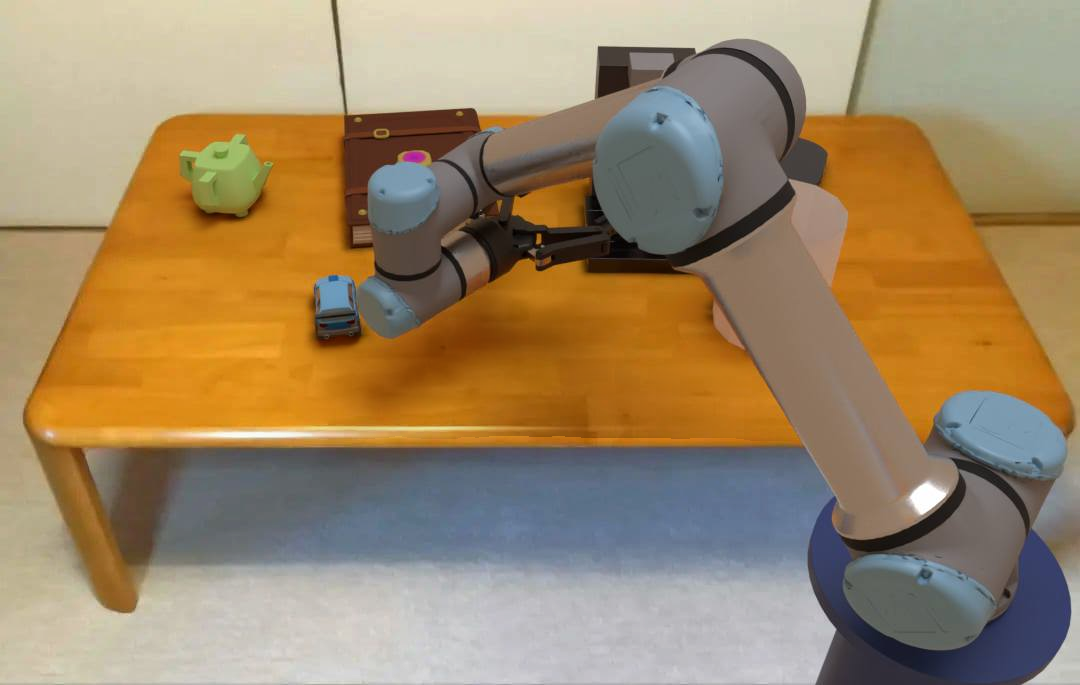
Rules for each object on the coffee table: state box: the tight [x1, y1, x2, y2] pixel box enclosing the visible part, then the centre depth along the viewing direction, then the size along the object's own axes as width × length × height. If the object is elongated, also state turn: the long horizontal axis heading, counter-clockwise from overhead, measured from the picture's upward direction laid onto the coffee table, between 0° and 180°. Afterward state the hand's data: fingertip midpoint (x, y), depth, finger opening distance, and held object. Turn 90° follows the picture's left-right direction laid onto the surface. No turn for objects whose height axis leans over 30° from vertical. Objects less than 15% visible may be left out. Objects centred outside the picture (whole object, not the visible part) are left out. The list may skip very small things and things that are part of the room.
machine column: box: [588, 45, 697, 196], centre depth 149 cm, size 11×14×26 cm
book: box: [342, 107, 500, 248], centre depth 160 cm, size 23×32×5 cm
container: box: [712, 179, 850, 351], centre depth 132 cm, size 14×14×18 cm
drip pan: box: [583, 194, 692, 275], centre depth 151 cm, size 16×16×2 cm
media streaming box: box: [779, 137, 829, 187], centre depth 166 cm, size 15×15×3 cm
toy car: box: [313, 274, 362, 341], centre depth 135 cm, size 6×12×6 cm, turn 12°
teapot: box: [178, 133, 275, 218], centre depth 154 cm, size 12×12×10 cm
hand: (590, 189), depth 135 cm, fingers open, 13 cm apart
